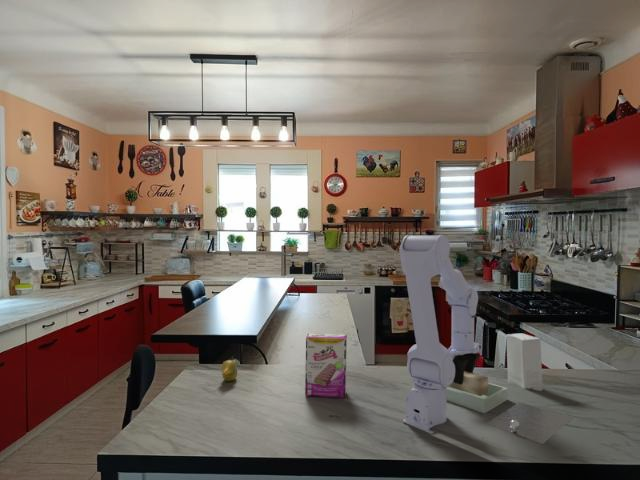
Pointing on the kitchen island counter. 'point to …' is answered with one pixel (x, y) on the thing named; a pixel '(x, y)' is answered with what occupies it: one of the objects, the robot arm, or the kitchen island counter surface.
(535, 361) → the skincare box
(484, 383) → the tan long block
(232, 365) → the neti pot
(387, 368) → the kitchen island counter surface
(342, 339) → the candy bar box
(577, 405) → the kitchen island counter surface
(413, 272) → the robot arm
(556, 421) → the mount
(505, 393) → the bin
